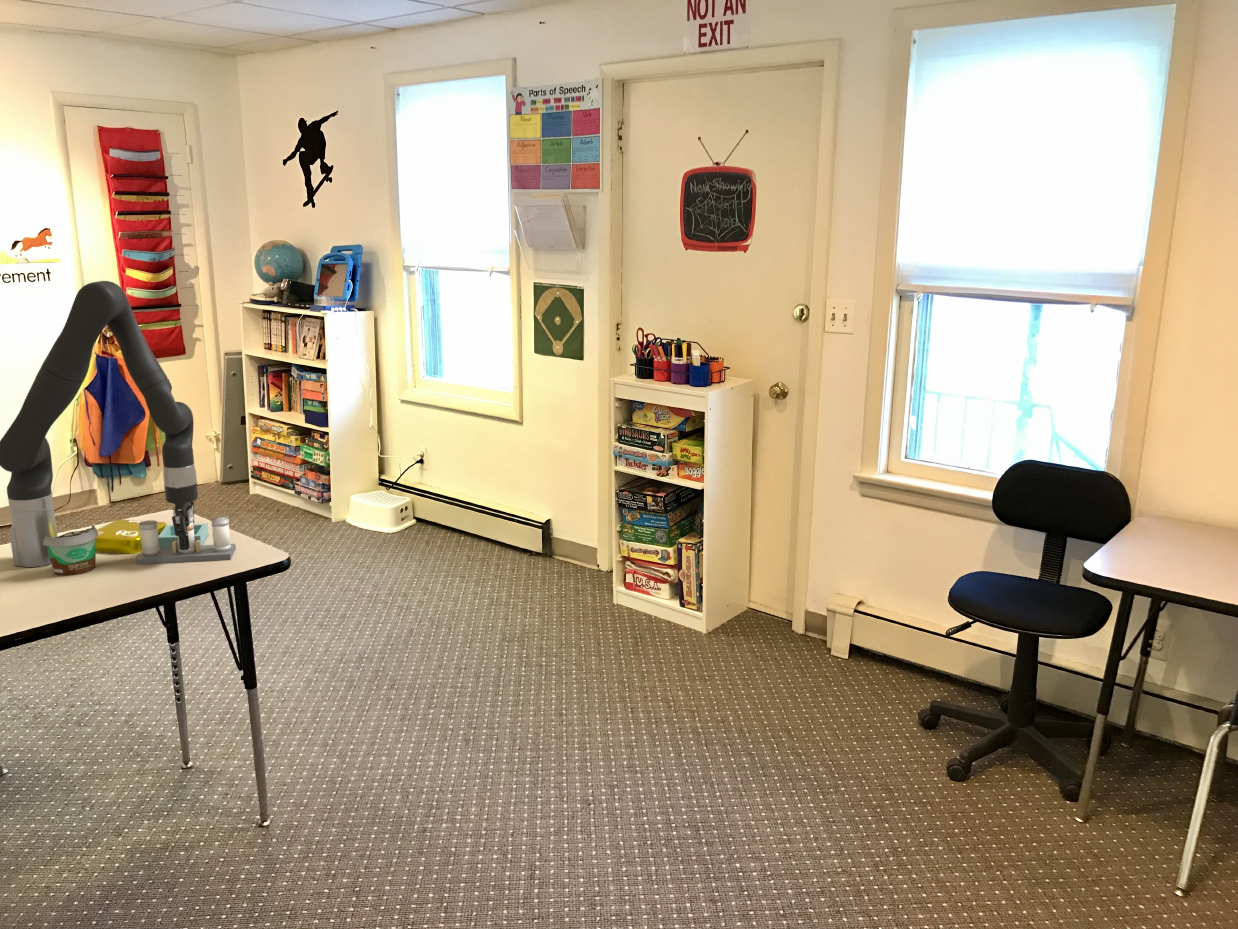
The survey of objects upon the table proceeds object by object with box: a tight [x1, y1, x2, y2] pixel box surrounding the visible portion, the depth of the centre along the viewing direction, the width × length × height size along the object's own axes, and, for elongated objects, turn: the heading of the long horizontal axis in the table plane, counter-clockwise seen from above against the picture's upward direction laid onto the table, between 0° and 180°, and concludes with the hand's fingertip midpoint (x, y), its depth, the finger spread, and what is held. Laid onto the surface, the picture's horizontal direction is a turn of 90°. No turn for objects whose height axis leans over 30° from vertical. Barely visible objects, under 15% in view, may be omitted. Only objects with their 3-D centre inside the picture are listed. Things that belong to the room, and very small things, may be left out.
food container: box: [43, 524, 98, 577], centre depth 227 cm, size 12×6×10 cm, turn 147°
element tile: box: [95, 519, 167, 555], centre depth 249 cm, size 15×15×5 cm
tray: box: [158, 523, 210, 547], centre depth 250 cm, size 10×10×4 cm
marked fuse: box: [177, 516, 196, 554], centre depth 239 cm, size 4×4×9 cm
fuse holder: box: [136, 516, 237, 565], centre depth 239 cm, size 22×8×10 cm, turn 103°
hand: (186, 546), depth 240 cm, fingers closed on marked fuse, 4 cm apart
